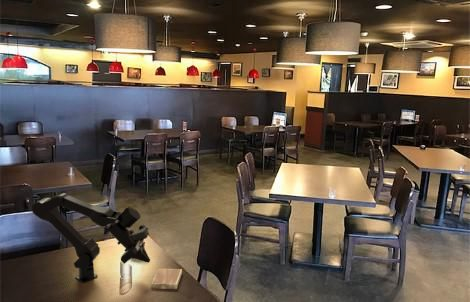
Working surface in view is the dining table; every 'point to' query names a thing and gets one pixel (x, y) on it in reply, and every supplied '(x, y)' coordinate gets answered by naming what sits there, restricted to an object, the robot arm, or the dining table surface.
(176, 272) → the brown tile
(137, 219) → the robot arm
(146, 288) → the dining table surface
